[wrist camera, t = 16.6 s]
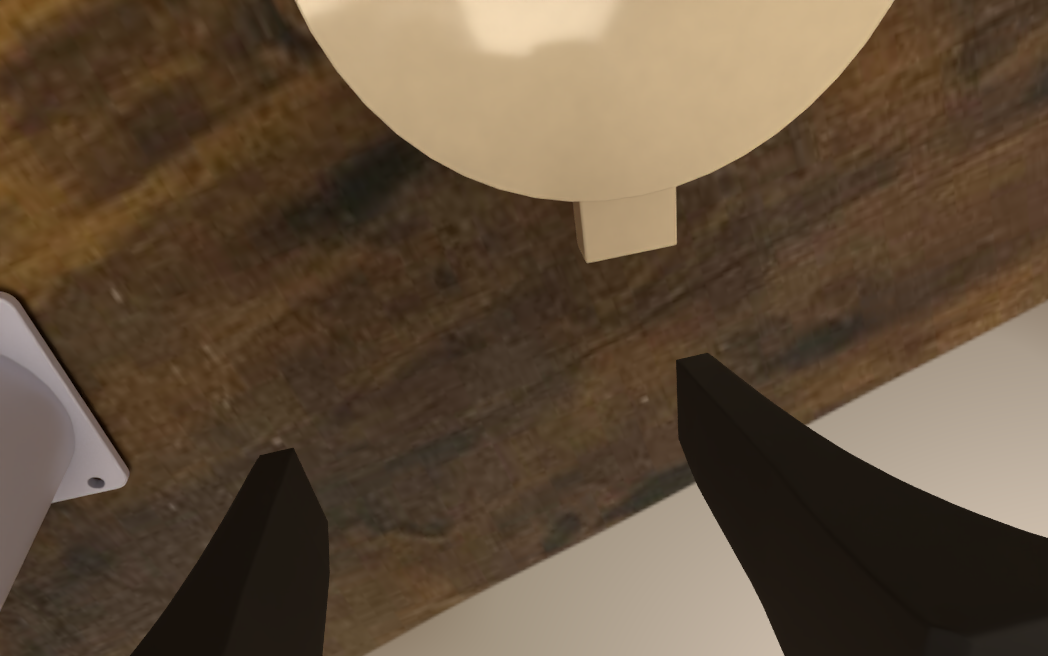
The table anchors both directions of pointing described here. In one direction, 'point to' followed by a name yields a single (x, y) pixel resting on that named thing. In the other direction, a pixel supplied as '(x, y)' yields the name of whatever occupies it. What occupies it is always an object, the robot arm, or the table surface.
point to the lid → (589, 82)
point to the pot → (626, 225)
